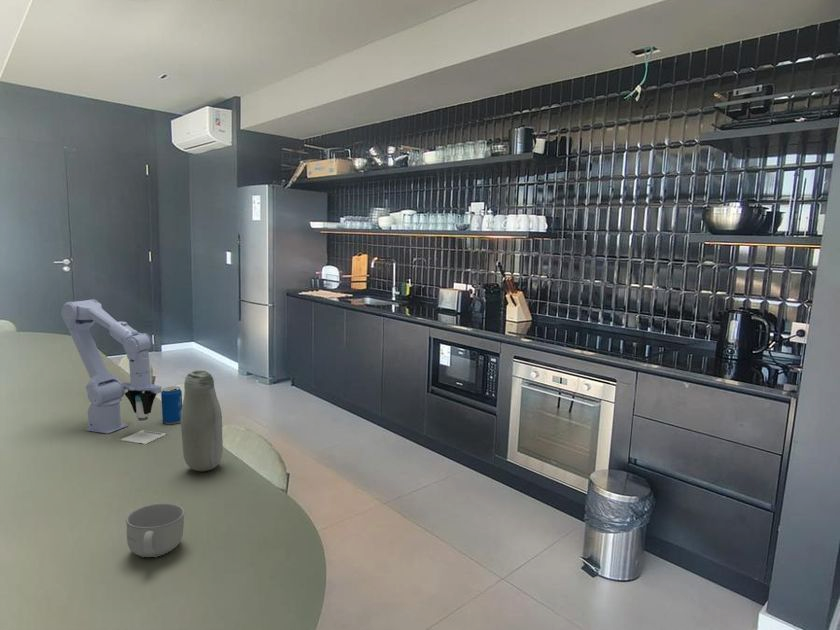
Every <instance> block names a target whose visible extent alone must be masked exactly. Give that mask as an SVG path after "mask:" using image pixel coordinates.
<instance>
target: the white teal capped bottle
mask: <svg viewBox="0 0 840 630" xmlns="http://www.w3.org/2000/svg"><path fill="white" fill-rule="evenodd" d="M135 401H136V413H135V414H136V418H137V421H146V420H148V419H149V415H150V413H148V414H144V411H143V404H142V400H141V398H140V396H139V394H138V395H135Z"/></svg>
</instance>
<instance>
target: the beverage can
mask: <svg viewBox="0 0 840 630" xmlns="http://www.w3.org/2000/svg"><path fill="white" fill-rule="evenodd" d="M161 391H162V392H161V393H160V396H161V397H160V398H161V415H162V416H161V418H162V422H163V423H165V425H176V424H179V423H181V410H182V405H183V392H182V391H183V390H182V389H181V387H180V386H166V387H164V388H161Z"/></svg>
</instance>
